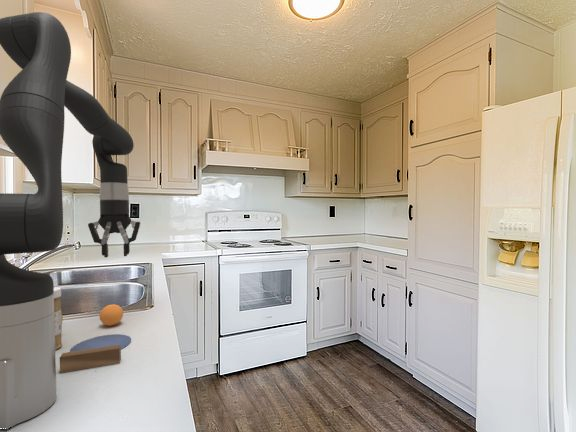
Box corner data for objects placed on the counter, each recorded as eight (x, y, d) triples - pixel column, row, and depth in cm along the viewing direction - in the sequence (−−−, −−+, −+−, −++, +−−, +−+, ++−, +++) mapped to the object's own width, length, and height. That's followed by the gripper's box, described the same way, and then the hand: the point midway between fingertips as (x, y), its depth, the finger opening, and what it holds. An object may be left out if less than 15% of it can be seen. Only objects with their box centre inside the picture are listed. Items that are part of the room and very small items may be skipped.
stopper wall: (63, 368, 61) (62, 352, 61) (121, 358, 65) (120, 344, 64) (60, 373, 59) (59, 357, 59) (119, 363, 63) (119, 348, 63)
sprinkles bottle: (44, 345, 72) (42, 287, 71) (66, 343, 72) (65, 286, 72) (32, 354, 67) (30, 292, 67) (55, 352, 68) (54, 290, 68)
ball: (114, 329, 81) (114, 308, 81) (95, 328, 82) (94, 307, 82) (127, 321, 87) (127, 301, 87) (109, 321, 87) (108, 301, 87)
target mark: (108, 359, 64) (108, 358, 64) (55, 356, 66) (55, 355, 66) (141, 335, 76) (141, 335, 76) (96, 334, 78) (96, 333, 78)
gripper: (142, 199, 99) (143, 253, 99) (89, 199, 93) (90, 256, 94) (140, 198, 92) (141, 256, 92) (83, 198, 86) (84, 260, 87)
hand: (115, 256), depth 93 cm, fingers open, 4 cm apart
